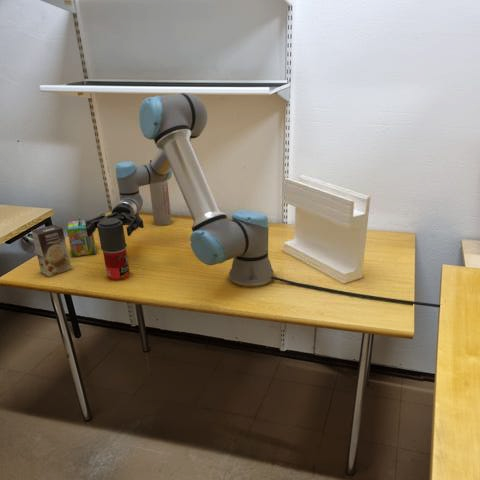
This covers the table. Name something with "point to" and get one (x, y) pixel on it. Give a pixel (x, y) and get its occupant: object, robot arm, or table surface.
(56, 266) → the coffee box
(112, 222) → the cap
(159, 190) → the thermos bottle
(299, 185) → the block
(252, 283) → the robot arm
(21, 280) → the table surface
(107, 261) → the canned food
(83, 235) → the chalk box
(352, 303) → the table surface
